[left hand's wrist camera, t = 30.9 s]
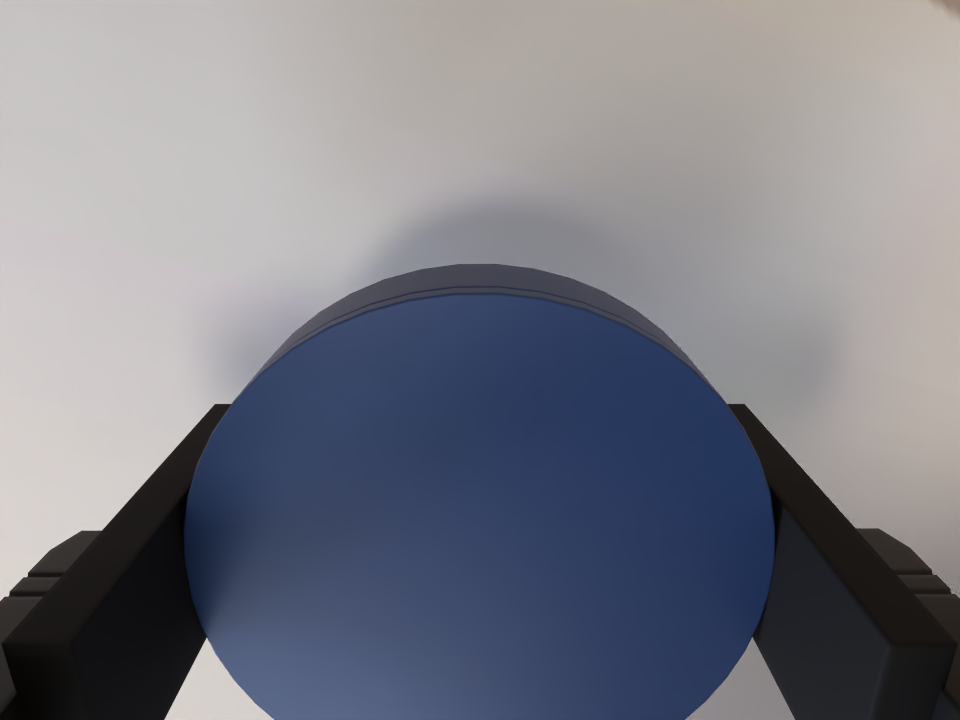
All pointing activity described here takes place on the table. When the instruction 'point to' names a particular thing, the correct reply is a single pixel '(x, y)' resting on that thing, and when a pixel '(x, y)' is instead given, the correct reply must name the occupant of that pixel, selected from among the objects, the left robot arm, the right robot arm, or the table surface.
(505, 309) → the lid
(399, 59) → the table surface
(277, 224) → the table surface
